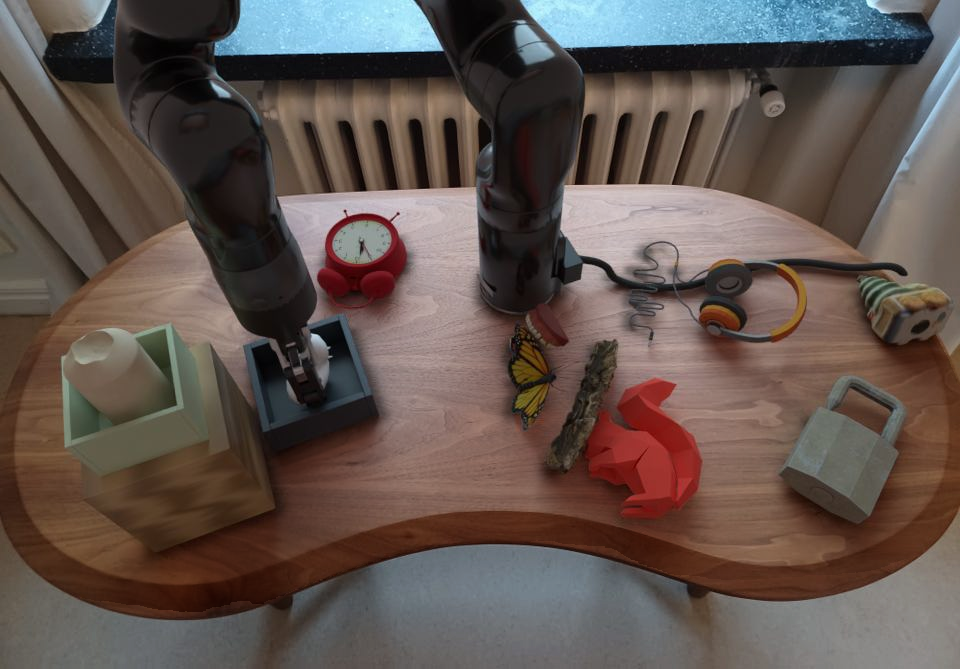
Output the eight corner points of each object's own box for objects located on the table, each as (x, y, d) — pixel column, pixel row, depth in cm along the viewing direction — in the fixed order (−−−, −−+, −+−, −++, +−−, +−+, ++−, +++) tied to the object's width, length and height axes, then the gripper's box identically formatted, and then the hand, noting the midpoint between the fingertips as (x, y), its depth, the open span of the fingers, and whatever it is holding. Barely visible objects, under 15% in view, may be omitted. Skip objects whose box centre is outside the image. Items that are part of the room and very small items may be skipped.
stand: (254, 411, 75) (209, 340, 63) (276, 508, 68) (230, 448, 57) (143, 449, 73) (76, 382, 61) (155, 552, 66) (82, 500, 55)
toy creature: (342, 354, 77) (330, 322, 72) (325, 416, 72) (310, 387, 67) (303, 351, 77) (288, 319, 72) (283, 413, 73) (266, 383, 68)
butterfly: (591, 427, 68) (559, 420, 65) (528, 445, 74) (496, 439, 71) (578, 320, 73) (548, 309, 70) (519, 345, 79) (489, 335, 75)
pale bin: (195, 358, 62) (170, 322, 58) (209, 439, 57) (184, 408, 53) (94, 390, 61) (60, 356, 56) (100, 477, 56) (64, 448, 51)
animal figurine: (686, 389, 74) (689, 362, 71) (707, 518, 65) (713, 496, 61) (580, 394, 76) (578, 368, 72) (586, 520, 67) (584, 498, 63)
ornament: (941, 341, 78) (883, 288, 85) (969, 301, 74) (906, 248, 81) (882, 351, 76) (828, 296, 83) (908, 310, 72) (849, 256, 79)
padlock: (774, 478, 68) (831, 377, 75) (853, 527, 66) (904, 417, 72) (790, 463, 65) (848, 358, 72) (873, 514, 62) (925, 400, 69)
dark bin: (351, 335, 80) (344, 312, 77) (379, 415, 74) (372, 394, 70) (255, 367, 78) (242, 345, 75) (275, 452, 72) (262, 432, 68)
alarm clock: (410, 206, 87) (388, 276, 76) (414, 246, 92) (393, 318, 81) (332, 203, 88) (298, 272, 77) (339, 243, 92) (308, 314, 81)
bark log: (592, 349, 79) (590, 310, 74) (633, 359, 77) (633, 319, 72) (539, 481, 69) (531, 446, 64) (584, 495, 67) (580, 460, 62)
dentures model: (543, 335, 70) (513, 381, 75) (575, 334, 72) (544, 379, 78) (523, 296, 73) (496, 343, 79) (555, 296, 75) (526, 342, 81)
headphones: (640, 225, 86) (814, 233, 78) (642, 254, 90) (808, 264, 82) (611, 328, 77) (804, 349, 69) (615, 355, 81) (798, 378, 73)
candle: (162, 444, 57) (105, 383, 48) (103, 433, 57) (37, 371, 49) (191, 388, 60) (141, 322, 52) (135, 378, 61) (77, 312, 52)
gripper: (324, 322, 56) (360, 414, 70) (288, 209, 64) (326, 312, 78) (235, 351, 55) (289, 440, 69) (209, 232, 63) (262, 333, 76)
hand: (308, 372), depth 73 cm, fingers closed on toy creature, 7 cm apart
